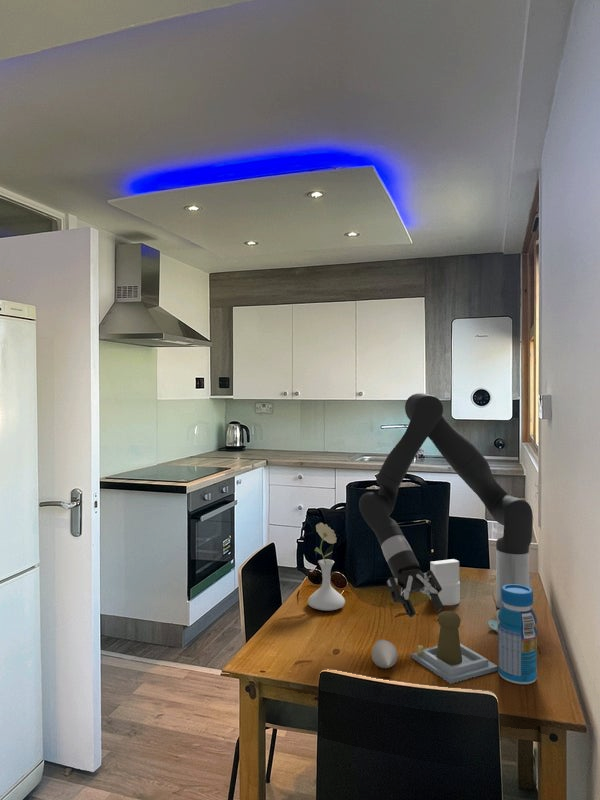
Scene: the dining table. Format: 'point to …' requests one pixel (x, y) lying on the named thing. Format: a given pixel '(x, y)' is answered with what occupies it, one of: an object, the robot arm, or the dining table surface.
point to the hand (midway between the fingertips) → (426, 612)
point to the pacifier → (494, 622)
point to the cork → (449, 638)
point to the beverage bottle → (517, 635)
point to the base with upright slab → (447, 580)
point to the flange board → (455, 673)
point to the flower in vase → (326, 577)
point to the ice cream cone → (384, 654)
